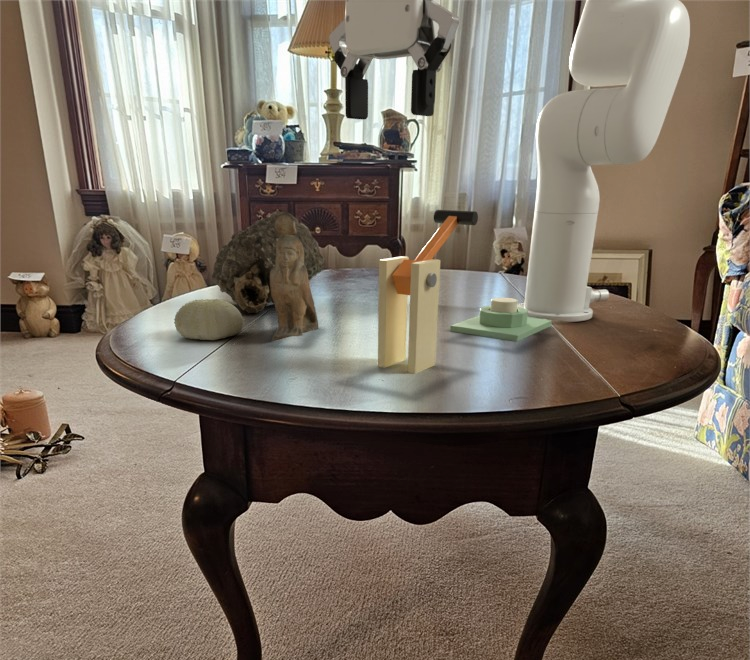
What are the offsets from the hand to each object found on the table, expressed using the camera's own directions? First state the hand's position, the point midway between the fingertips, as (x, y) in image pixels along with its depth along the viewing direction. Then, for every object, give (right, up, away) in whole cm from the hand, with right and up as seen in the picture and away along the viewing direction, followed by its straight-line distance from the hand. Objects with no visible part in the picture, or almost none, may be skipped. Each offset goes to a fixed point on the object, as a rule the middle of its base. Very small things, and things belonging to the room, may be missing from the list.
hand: (388, 117), depth 73 cm
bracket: (+2, -29, +1) cm, 29 cm away
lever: (+5, -16, -1) cm, 17 cm away
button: (+16, -17, +18) cm, 30 cm away
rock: (-21, -10, +38) cm, 45 cm away
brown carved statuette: (-13, -20, +19) cm, 31 cm away
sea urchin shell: (-25, -20, +19) cm, 37 cm away
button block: (+16, -20, +19) cm, 32 cm away
